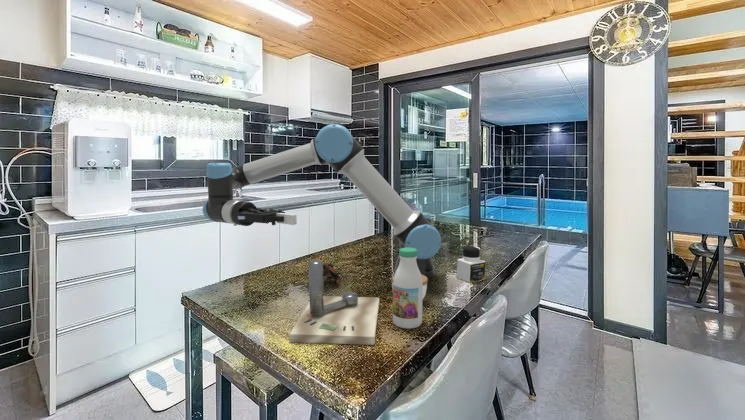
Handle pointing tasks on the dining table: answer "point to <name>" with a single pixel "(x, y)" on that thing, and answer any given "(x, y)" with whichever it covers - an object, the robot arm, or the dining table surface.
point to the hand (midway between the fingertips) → (294, 219)
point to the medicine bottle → (471, 265)
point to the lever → (317, 292)
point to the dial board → (339, 323)
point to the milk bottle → (407, 291)
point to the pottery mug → (330, 273)
